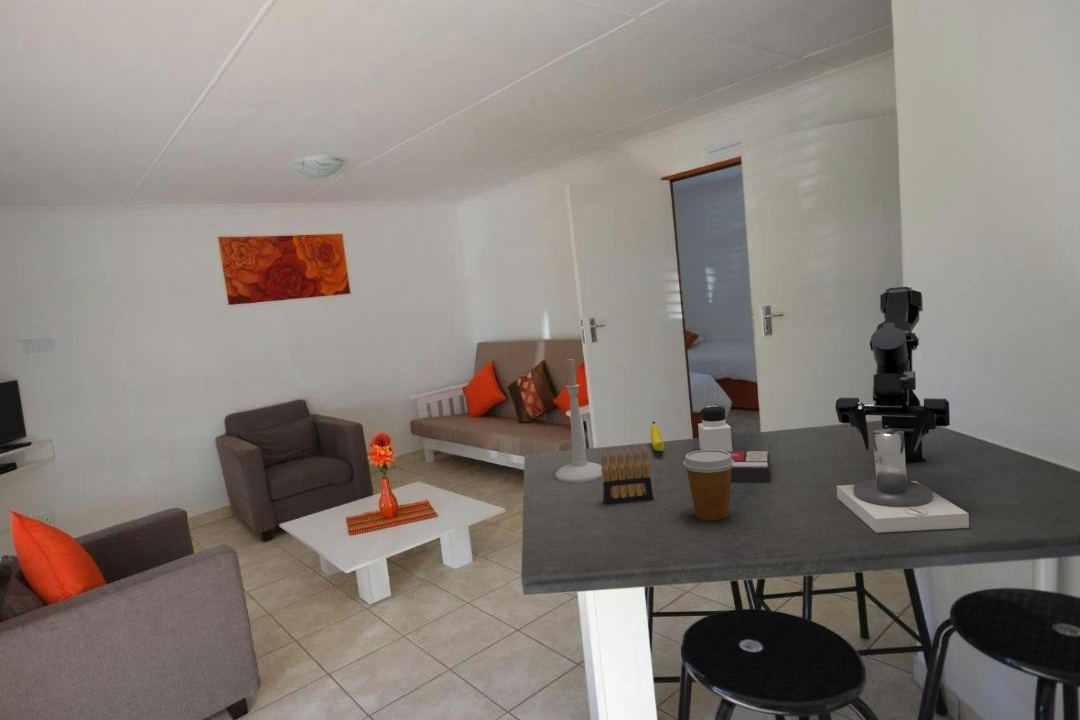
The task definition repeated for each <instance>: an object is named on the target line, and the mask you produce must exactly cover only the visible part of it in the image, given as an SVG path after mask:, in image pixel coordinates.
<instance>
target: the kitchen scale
mask: <svg viewBox="0 0 1080 720" xmlns="http://www.w3.org/2000/svg"><path fill="white" fill-rule="evenodd" d="M907 489H908V490H907V492H904V493H900V494H888V493H883V492H880V491H878V490H877V482H876V478H874V479H867V480H864V481H862V480H861V481H860V482H858V483H855V484H846V485H845V484H843V485H836V498H837V499H838V500H839V501H840V502H841V503H843V505H845V506H846V507H847V508H848V510H850V511H852V513H854V514H855V516H857V517H858V518H859V519H860V520H862V521H863V523H864V524H866V525H867V526H868V527H870V528H871V530H872V531H874V532H875V533H876V534H877V533H878V534H879V533H895V532H896V533H897V532H914V531H918V532H919V531H932V530H950V529H968V528H970V522H969V521H970V519H969V518H970V516H969V513H968V512H967V511H965V510H964V509H962V508H960V507H959V506H957V505H956V504H954V503H952V502H950V501H949V500H947V499H946V498H945V497H943V496H940V494H937V493H936V492H934V491H933V490H932V489H931V488H930V487H928V486H927V485H924V484H921V483H920V482H918V481H917V480H907Z"/></svg>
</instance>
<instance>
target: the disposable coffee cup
mask: <svg viewBox="0 0 1080 720" xmlns="http://www.w3.org/2000/svg"><path fill="white" fill-rule="evenodd" d="M684 457H685V459H684V460H683V465H684V467H685V469H686V473H687V477H688V483H689V488H690V492H691V497H692V502H693V508H694V511H695V517H697V518H699V519H700V520H705V521H719V520H723V519H726V518H728V517H729V515H730V514H729V513H730V497H731V483H732V482H731V469H732V466H733V463H734V460H733V459H732V457H731V454H730V453H728V452H726V451H721V450H701V449H700V450H694V451H690V452H688V453H687V454H686V455H685V456H684Z"/></svg>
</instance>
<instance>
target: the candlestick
mask: <svg viewBox="0 0 1080 720" xmlns="http://www.w3.org/2000/svg"><path fill="white" fill-rule="evenodd" d="M565 362H566V371H567V382H568V385H565V388H566V389H567V393H568V394H569V397H570V399H569V403H570V405H569V407H570V428H571V429H570V431H571V451H572V452H571V453H572V454H571V455H572V461H571V463H569V464H566V465H563V466H562V467H560V468H559V469H558V470H557V471H556V472H555V478H556V479H557V480H559V481H561V482H566V483H585V482H591V481H594V480H597V479H602V471H601V468H602V464H598V463H595V462H591V461H588V459H587V454H586V448H585V447H586V445H585V441H584V434H583V433H584V432H583V427H582V426H583V425H582V420H581V413H580V406H579V399H578V397H577V396H578V393H579V387H580V384H577V377H576V376H577V374H576V367H575V366H576V365H575V358H568V359H566V361H565Z"/></svg>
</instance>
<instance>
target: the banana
mask: <svg viewBox="0 0 1080 720" xmlns="http://www.w3.org/2000/svg"><path fill="white" fill-rule="evenodd" d="M651 423H652V426H651V428H650V440H651V445H652V448H653V450H654V451H656V452H661V451H663V450H664V448H665V444H664V442H663V441H662V435H661V431H660V429H659V427H658V426H657V425H656V421H652V422H651Z"/></svg>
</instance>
